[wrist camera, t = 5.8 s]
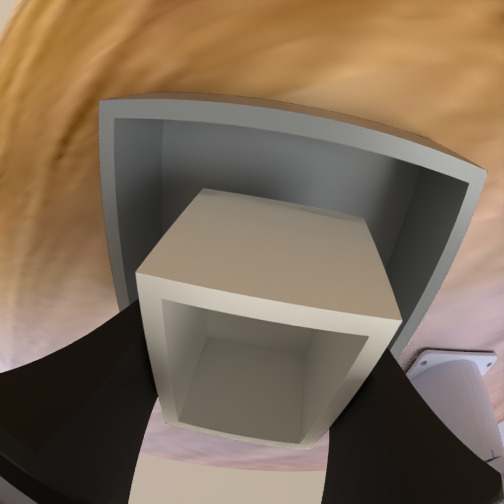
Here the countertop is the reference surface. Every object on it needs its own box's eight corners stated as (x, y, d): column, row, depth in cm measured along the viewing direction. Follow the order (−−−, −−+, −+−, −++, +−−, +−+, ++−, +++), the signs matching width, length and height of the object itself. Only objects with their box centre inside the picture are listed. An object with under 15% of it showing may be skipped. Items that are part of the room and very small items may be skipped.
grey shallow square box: (357, 341, 17) (364, 402, 13) (161, 304, 18) (131, 359, 14) (434, 141, 11) (488, 171, 7) (158, 91, 11) (99, 100, 7)
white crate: (313, 354, 12) (310, 450, 8) (198, 333, 12) (165, 423, 9) (363, 217, 9) (402, 320, 5) (203, 188, 9) (135, 272, 5)
